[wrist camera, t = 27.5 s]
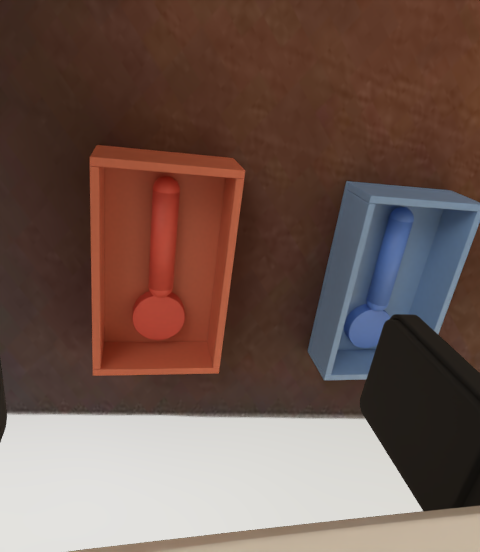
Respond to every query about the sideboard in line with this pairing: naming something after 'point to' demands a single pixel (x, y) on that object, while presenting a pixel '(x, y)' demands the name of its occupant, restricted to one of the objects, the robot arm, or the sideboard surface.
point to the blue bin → (412, 272)
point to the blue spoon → (381, 282)
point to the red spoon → (161, 268)
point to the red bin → (136, 255)
